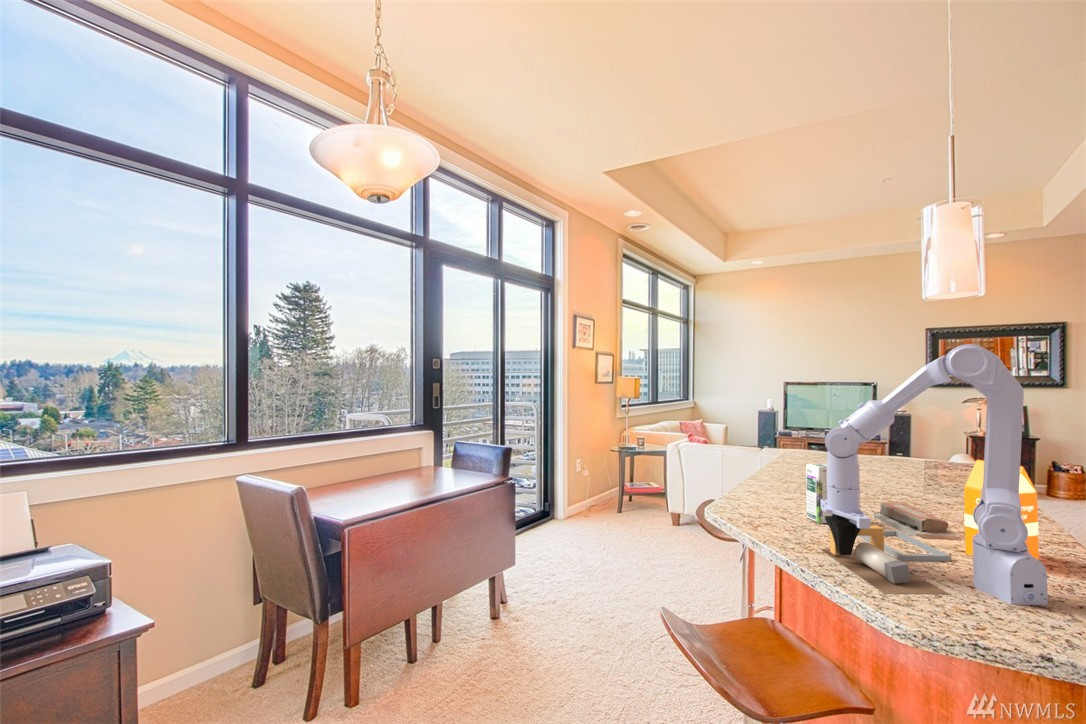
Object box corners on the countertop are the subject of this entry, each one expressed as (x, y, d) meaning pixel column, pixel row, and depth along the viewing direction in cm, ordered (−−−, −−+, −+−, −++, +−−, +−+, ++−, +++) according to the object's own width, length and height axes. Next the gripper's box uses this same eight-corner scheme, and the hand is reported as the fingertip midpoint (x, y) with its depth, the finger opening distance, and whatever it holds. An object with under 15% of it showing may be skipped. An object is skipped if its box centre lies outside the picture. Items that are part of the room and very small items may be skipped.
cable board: (950, 600, 87) (950, 594, 87) (884, 599, 87) (884, 593, 87) (872, 554, 109) (872, 549, 109) (820, 553, 109) (819, 548, 109)
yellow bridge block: (884, 555, 104) (883, 528, 104) (835, 555, 104) (834, 528, 104) (878, 552, 106) (877, 525, 106) (830, 551, 106) (829, 525, 106)
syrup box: (805, 517, 136) (804, 463, 137) (826, 516, 137) (825, 463, 137) (819, 523, 131) (818, 467, 131) (840, 523, 131) (839, 466, 131)
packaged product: (871, 500, 137) (910, 500, 136) (872, 518, 137) (910, 519, 136) (915, 519, 119) (960, 520, 118) (916, 540, 119) (961, 541, 118)
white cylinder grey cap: (914, 583, 90) (910, 561, 91) (892, 586, 91) (887, 564, 91) (876, 560, 101) (872, 540, 102) (856, 563, 102) (852, 544, 102)
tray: (951, 565, 102) (951, 555, 102) (902, 565, 102) (902, 555, 102) (897, 538, 119) (897, 530, 119) (855, 538, 119) (855, 529, 119)
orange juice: (1012, 568, 100) (1009, 467, 101) (964, 553, 109) (962, 460, 109) (1039, 564, 102) (1037, 465, 103) (991, 550, 111) (989, 458, 111)
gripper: (805, 478, 110) (806, 541, 110) (842, 494, 95) (843, 567, 95) (839, 478, 110) (840, 542, 109) (881, 495, 95) (882, 568, 95)
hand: (844, 554), depth 102 cm, fingers closed
